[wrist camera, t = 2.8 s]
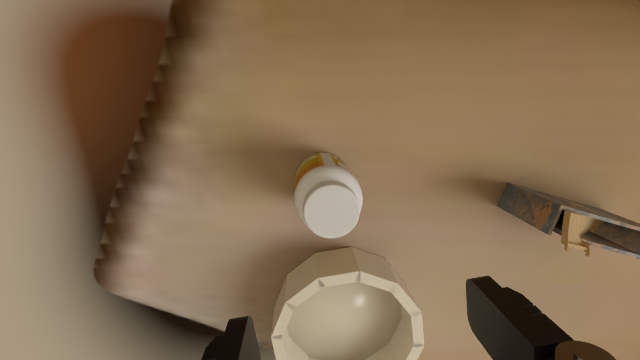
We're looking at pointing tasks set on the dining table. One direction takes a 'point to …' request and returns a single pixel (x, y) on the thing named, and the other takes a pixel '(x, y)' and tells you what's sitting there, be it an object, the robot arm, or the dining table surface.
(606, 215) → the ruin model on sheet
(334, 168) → the supplement bottle
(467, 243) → the dining table surface
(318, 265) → the bowl
